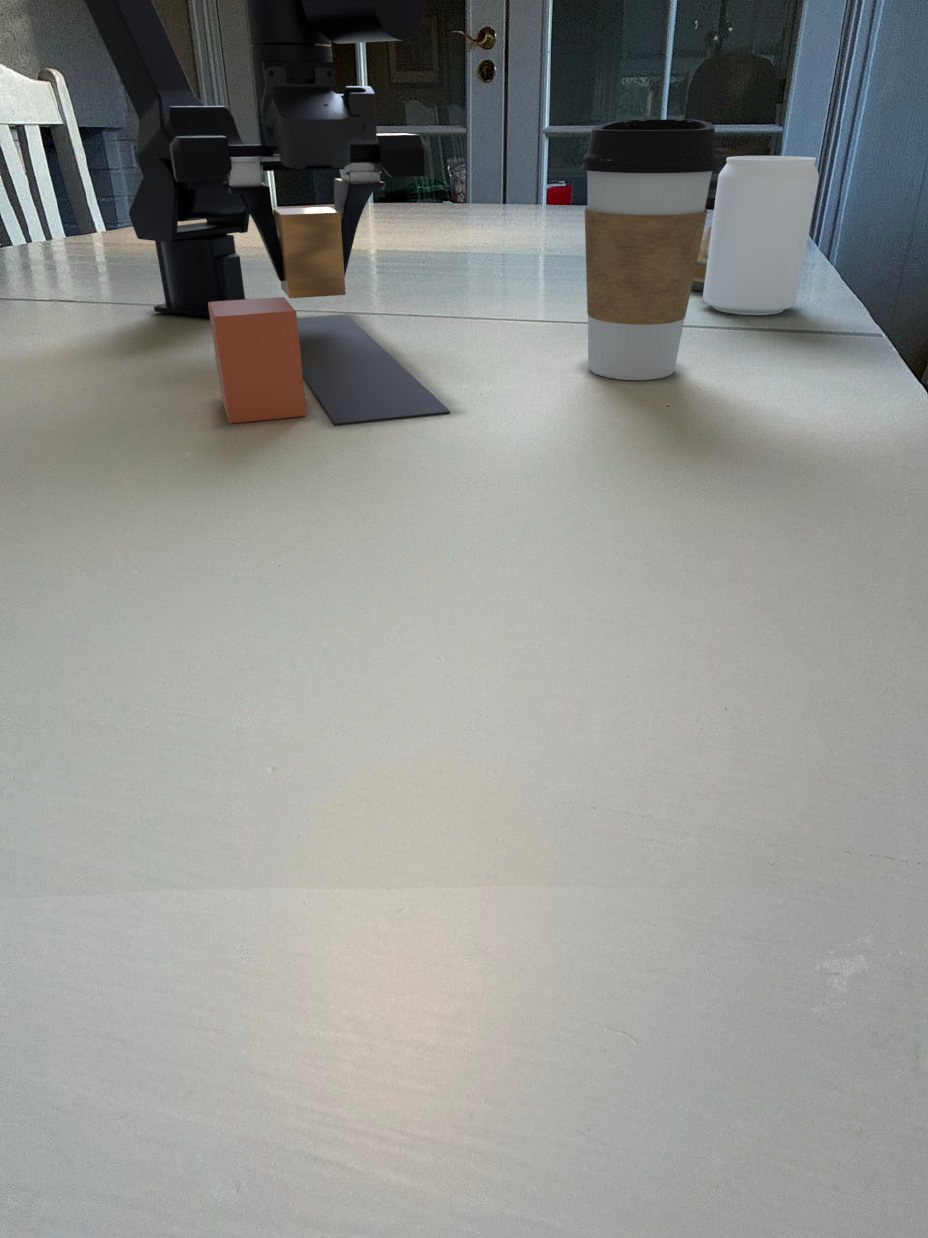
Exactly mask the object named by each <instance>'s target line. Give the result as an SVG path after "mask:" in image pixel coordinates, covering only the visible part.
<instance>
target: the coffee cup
mask: <svg viewBox="0 0 928 1238" xmlns="http://www.w3.org/2000/svg"><path fill="white" fill-rule="evenodd" d="M715 138H716V126H715V124H713V123H711V122H710V121H709V122H708V121H704V120H699V119H685V118H683V119H682V118H679V119H678V118H677V119H676V118H675V119H673V118H672V119H671V118H661V119H660V118H659V119H658V118H656V119H654V118H653V119H651V118H650V119H645V118H644V119H643V118H642V119H626V120H625V119H624V120H617V121H612V122H607V123H603V124H600V125H596V126H594V127H593V128H592V129H591V133H590V139H589V144H588V149H587V153H586V154H584V155H583V157H582V160H583V161H582V165H581V170H582V171H586V174H587V175H586V176H587V177H586V179H587V207H585V208H584V240H585V241H584V242H585V243H584V244H585V277H586V315H587V355H588V356H587V366H588V369H589V371H590V372H591V373H593V374H595V375H598V376H600V377H605V378H608V379H614V380H622V381H650V380H652V381H653V380H658V379H663V378H666V377H669V376H672V374H674V372H675V369H676V365H677V361H678V360H677V359H678V356H679V355H678V353H679V349H680V342H681V338H682V332H683V327H684V322H685V318H686V315H687V311H688V306H689V301H690V296H691V292H692V289H691V287H692V283H693V278H694V273H695V269H696V264H697V259H698V254H699V250H700V245H701V240H702V236H703V232H705V231H704V230H705V226H706V222H707V221H706V220H707V216H708V212H709V210H708V209H707V208H706V206H707V200H708V194H709V189H710V184H711V178H712V173H713V172H716V171H719V169H720V168H719V156H718V154H717V153H716V144H715V143H716V139H715Z"/></svg>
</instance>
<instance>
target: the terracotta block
mask: <svg viewBox="0 0 928 1238" xmlns="http://www.w3.org/2000/svg"><path fill="white" fill-rule="evenodd" d="M245 299H246V300H230V301H215V302H208V307H209V314H210V317H209V321H210V326H211V327H210V328H211V333H212V340H213V341H212V342H213V347H214V353H215V361H216V367H217V374H218V381H219V387H220V394H221V395H220V396H221V401H222V404H223V408H224V411H225V414H226V416H227V420H228V423H229V424H230V425H231V424H241V423H248V422H251V423H252V422H259V421H261V422H262V421H269V420H270V421H271V420H281V419H291V418H299V417H306V416H307V406H306V396H305V395H306V394H305V385H304V377H303V374H302V364H301V354H300V344H299V333H298V323H297V318H298V315H297V311H296V309H295V308H294V307H293V305H292V304H291V303H290V302H289V301H288V300H287V299H286V297H284V296H280V297H279V296H278V297H262V298H245Z"/></svg>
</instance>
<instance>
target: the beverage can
mask: <svg viewBox="0 0 928 1238" xmlns="http://www.w3.org/2000/svg"><path fill="white" fill-rule="evenodd" d="M725 161H726V164H725V165H724V167H723V168H722V169H721V170H720V172H719V173H718V177H717V182H716V183H717V184H716V185H717V186H716V190H715V198H714V199H715V200H714V206H713V207H714V208H713V215H712V222H711V224H712V230H711V237H710V245H709V253H708V261H707V268H706V276H705V284H704V291H702V300H703V302H704V303H706V304H707V305H709V306H711V307H712V308H713V309H714V310H717V311H718V312H723V313H727V314H733V315H744V316H746V315H747V316H770V315H777V314H780V313H782V312H784V310H787V309H791V308H793V307H794V306H795V305H796V304H797V301H798V297H799V291H800V286H801V278H802V273H803V269H804V263H805V256H806V253H807V246H808V240H809V235H810V230H811V224H812V219H813V213H814V208H815V202H816V197H817V192H818V185H819V179H820V175H819V171H818V169H817V167H816V165H815V163H816V162H817V158H816V157H811V156H795V155H794V156H793V155H738V156H737V155H735V156H728V157H726V160H725Z"/></svg>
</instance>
